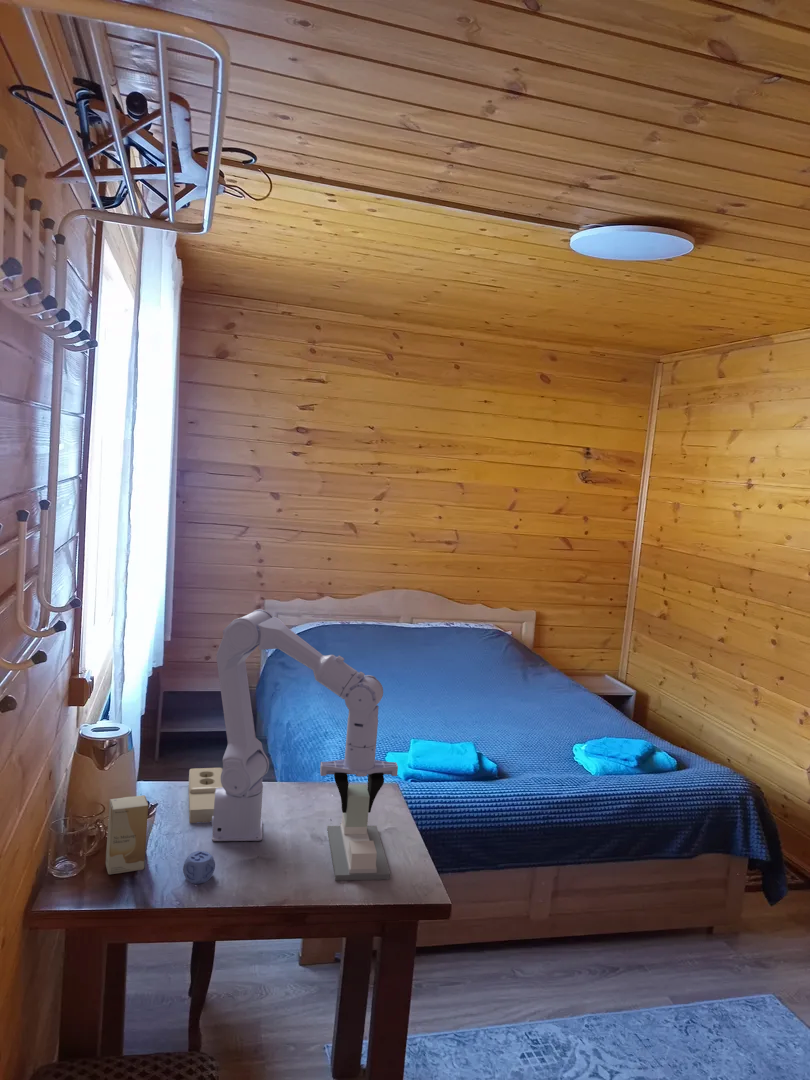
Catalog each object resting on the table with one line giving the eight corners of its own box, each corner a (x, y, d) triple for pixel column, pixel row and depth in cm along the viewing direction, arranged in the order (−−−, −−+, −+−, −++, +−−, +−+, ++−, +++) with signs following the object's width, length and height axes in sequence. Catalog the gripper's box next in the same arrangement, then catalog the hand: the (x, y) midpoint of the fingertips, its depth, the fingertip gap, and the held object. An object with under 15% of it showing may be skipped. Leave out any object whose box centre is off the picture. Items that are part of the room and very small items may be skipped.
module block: (346, 827, 147) (348, 796, 146) (343, 814, 152) (345, 784, 151) (367, 826, 147) (369, 796, 147) (363, 814, 152) (366, 784, 151)
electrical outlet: (190, 805, 157) (189, 767, 174) (189, 824, 157) (188, 785, 174) (227, 803, 159) (222, 766, 176) (225, 822, 159) (221, 784, 176)
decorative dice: (214, 875, 140) (216, 854, 139) (200, 886, 136) (201, 865, 135) (196, 869, 141) (197, 848, 141) (182, 879, 137) (183, 858, 137)
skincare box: (108, 876, 137) (110, 809, 135) (105, 863, 140) (107, 798, 139) (146, 869, 140) (149, 804, 138) (142, 857, 143) (145, 793, 142)
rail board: (335, 880, 141) (337, 855, 140) (327, 830, 159) (329, 808, 158) (389, 879, 143) (392, 854, 142) (376, 830, 160) (377, 807, 160)
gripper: (324, 750, 142) (319, 820, 144) (402, 750, 145) (396, 820, 147) (321, 735, 149) (316, 802, 151) (396, 736, 152) (390, 802, 154)
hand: (355, 810), depth 149 cm, fingers closed on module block, 4 cm apart
